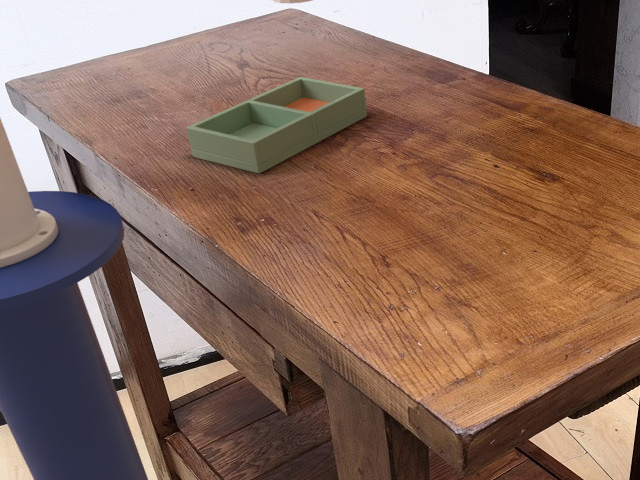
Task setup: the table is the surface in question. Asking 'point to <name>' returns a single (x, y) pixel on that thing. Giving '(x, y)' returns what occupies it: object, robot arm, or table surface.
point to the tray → (277, 124)
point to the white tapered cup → (290, 1)
